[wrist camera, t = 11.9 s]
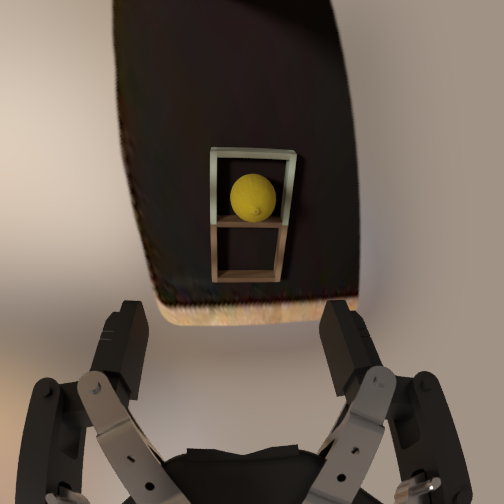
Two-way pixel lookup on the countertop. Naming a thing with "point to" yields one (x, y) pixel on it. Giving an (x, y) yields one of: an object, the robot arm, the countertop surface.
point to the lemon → (253, 198)
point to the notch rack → (236, 221)
